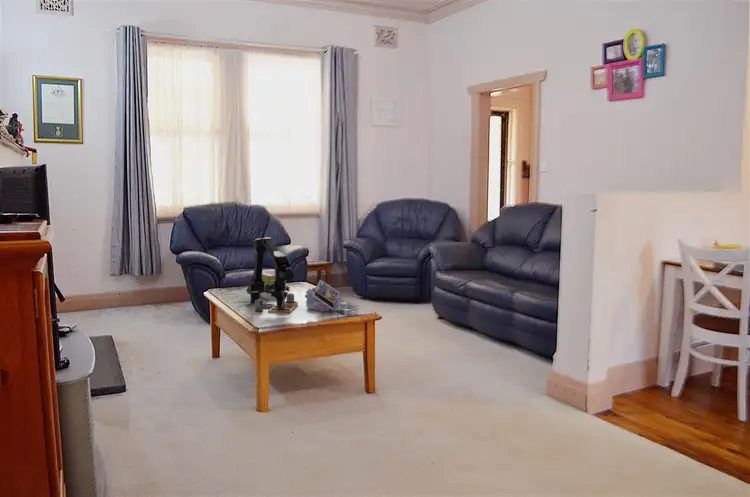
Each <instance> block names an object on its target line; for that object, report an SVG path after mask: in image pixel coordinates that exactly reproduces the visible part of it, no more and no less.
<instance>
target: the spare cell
mask: <svg viewBox="0 0 750 497" xmlns="http://www.w3.org/2000/svg"><path fill="white" fill-rule="evenodd" d="M263 304H264V300H263V299H261V298H260V299H258V300H255V303H254V312H255V313H262V312H264V310H263Z"/></svg>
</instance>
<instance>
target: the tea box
mask: <svg viewBox="0 0 750 497" xmlns="http://www.w3.org/2000/svg"><path fill="white" fill-rule="evenodd" d="M262 279H263V281H264V282H265V283H264V292H263V293H260V297H262V298H264V299H267V300H273V299H274V300H276V298H275V297H273V296H271V292H272V291H274V289H273V290H270V291H268V292H266V290H265V285H266V284H272V283H274V281H275V271H274V272H273V271H264V272H263V271H262Z"/></svg>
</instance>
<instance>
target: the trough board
mask: <svg viewBox="0 0 750 497" xmlns="http://www.w3.org/2000/svg"><path fill="white" fill-rule="evenodd" d="M275 306H277V305H276V304H275ZM275 306H273V307H272V308H271V309H270V310H268V314H291V313H292V312H293V311H294V310H295V309H296V307H295V306H285V310H277V308H274V307H275Z"/></svg>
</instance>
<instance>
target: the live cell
mask: <svg viewBox="0 0 750 497" xmlns="http://www.w3.org/2000/svg"><path fill="white" fill-rule="evenodd" d="M285 300H286V299H285V297H284V299H283V302H282V305H281V307H278V303H277V302H276V304H277V310H285Z"/></svg>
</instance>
